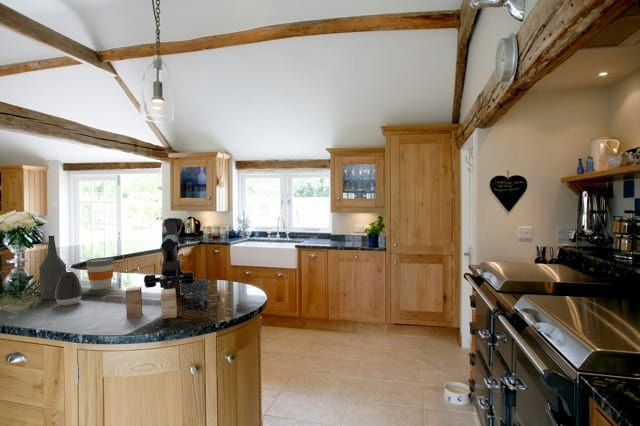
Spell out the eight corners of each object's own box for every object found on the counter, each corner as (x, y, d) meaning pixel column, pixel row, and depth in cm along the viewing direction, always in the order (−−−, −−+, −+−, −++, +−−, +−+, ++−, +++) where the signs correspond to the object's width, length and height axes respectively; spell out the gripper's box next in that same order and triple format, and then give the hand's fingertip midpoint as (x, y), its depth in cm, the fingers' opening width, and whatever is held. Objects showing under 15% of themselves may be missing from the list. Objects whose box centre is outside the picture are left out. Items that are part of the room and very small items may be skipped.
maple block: (163, 308, 145) (161, 289, 139) (176, 307, 146) (175, 288, 140) (162, 318, 141) (160, 299, 135) (176, 317, 142) (174, 298, 136)
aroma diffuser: (53, 309, 154) (51, 274, 153) (57, 302, 163) (56, 270, 163) (81, 305, 159) (79, 271, 158) (84, 299, 168) (82, 267, 167)
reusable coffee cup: (115, 287, 189) (114, 259, 188) (87, 291, 182) (86, 262, 181) (113, 283, 199) (112, 256, 199) (87, 286, 192) (85, 259, 192)
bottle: (43, 301, 165) (39, 237, 164) (38, 297, 172) (35, 235, 171) (69, 296, 173) (66, 235, 172) (64, 293, 180) (61, 233, 178)
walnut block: (128, 314, 146) (127, 287, 146) (142, 312, 148) (141, 286, 148) (126, 318, 142) (125, 290, 141) (140, 316, 143) (139, 289, 143)
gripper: (143, 255, 144) (140, 288, 134) (192, 252, 150) (193, 284, 140) (146, 271, 151) (144, 303, 141) (193, 267, 158) (194, 298, 148)
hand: (169, 297), depth 142 cm, fingers closed
